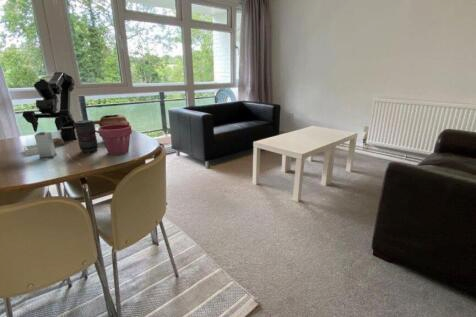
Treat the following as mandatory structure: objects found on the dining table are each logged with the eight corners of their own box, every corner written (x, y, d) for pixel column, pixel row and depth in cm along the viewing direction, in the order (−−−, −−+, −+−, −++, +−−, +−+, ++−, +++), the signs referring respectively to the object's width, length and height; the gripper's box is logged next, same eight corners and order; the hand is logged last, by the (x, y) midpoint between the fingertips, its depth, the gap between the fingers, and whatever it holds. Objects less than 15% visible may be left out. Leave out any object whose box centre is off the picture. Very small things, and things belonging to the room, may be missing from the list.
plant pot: (125, 146, 137) (122, 122, 133) (139, 151, 129) (136, 126, 125) (97, 152, 127) (92, 126, 123) (110, 159, 118) (106, 131, 114)
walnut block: (58, 144, 142) (57, 138, 140) (64, 145, 140) (62, 139, 139) (48, 146, 137) (47, 140, 136) (54, 147, 135) (53, 141, 134)
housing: (44, 155, 122) (38, 131, 118) (57, 154, 124) (51, 130, 120) (39, 159, 118) (33, 134, 114) (53, 158, 119) (47, 133, 115)
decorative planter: (95, 145, 139) (91, 119, 135) (91, 140, 148) (86, 116, 144) (134, 139, 151) (131, 115, 146) (127, 135, 160) (124, 112, 156)
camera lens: (102, 149, 131) (97, 120, 127) (89, 154, 124) (83, 123, 119) (90, 148, 134) (84, 119, 129) (76, 152, 127) (70, 122, 122)
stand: (46, 147, 134) (45, 142, 134) (50, 151, 128) (48, 146, 127) (24, 151, 129) (23, 146, 128) (27, 155, 122) (25, 150, 122)
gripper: (18, 93, 118) (13, 122, 112) (65, 92, 123) (63, 119, 117) (30, 108, 128) (26, 135, 121) (73, 107, 133) (71, 133, 126)
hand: (46, 130), depth 121 cm, fingers open, 9 cm apart
